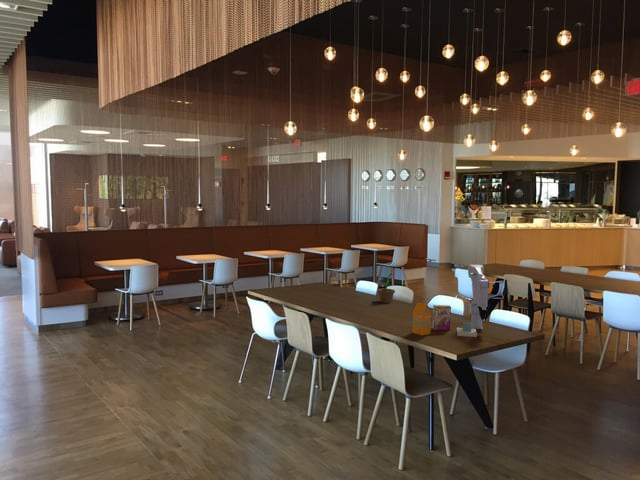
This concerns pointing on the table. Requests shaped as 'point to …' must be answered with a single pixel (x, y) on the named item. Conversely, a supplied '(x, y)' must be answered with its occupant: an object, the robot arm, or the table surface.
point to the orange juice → (421, 319)
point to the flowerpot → (386, 292)
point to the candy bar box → (441, 317)
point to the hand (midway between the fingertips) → (482, 318)
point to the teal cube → (467, 326)
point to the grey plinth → (466, 332)
